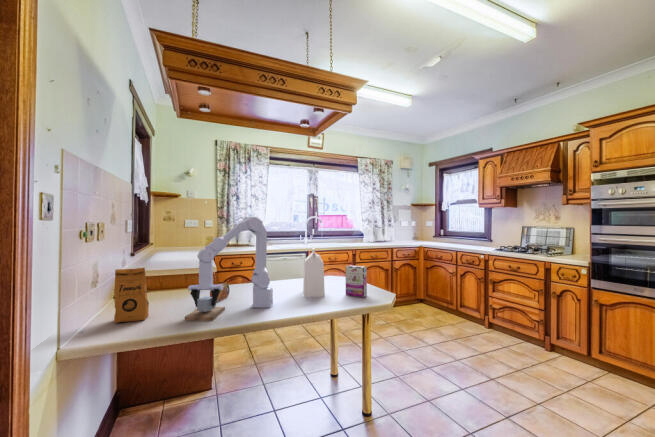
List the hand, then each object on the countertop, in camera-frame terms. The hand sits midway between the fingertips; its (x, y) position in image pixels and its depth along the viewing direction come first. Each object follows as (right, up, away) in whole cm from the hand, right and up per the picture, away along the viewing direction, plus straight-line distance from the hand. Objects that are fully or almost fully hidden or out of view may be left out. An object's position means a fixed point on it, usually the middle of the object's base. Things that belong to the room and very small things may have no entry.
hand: (205, 306), depth 128 cm
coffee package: (-29, -4, -6) cm, 30 cm away
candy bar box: (+70, -4, +32) cm, 78 cm away
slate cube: (0, -1, 0) cm, 1 cm away
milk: (+46, -4, +36) cm, 59 cm away
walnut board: (0, -4, 0) cm, 4 cm away
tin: (-3, -4, +24) cm, 25 cm away
